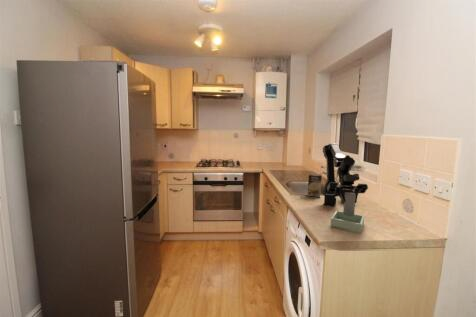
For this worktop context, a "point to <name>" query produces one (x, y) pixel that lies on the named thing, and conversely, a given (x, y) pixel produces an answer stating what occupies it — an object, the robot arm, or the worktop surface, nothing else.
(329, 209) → the worktop surface
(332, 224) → the sage bin
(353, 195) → the ball
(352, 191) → the coffee mug
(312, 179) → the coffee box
